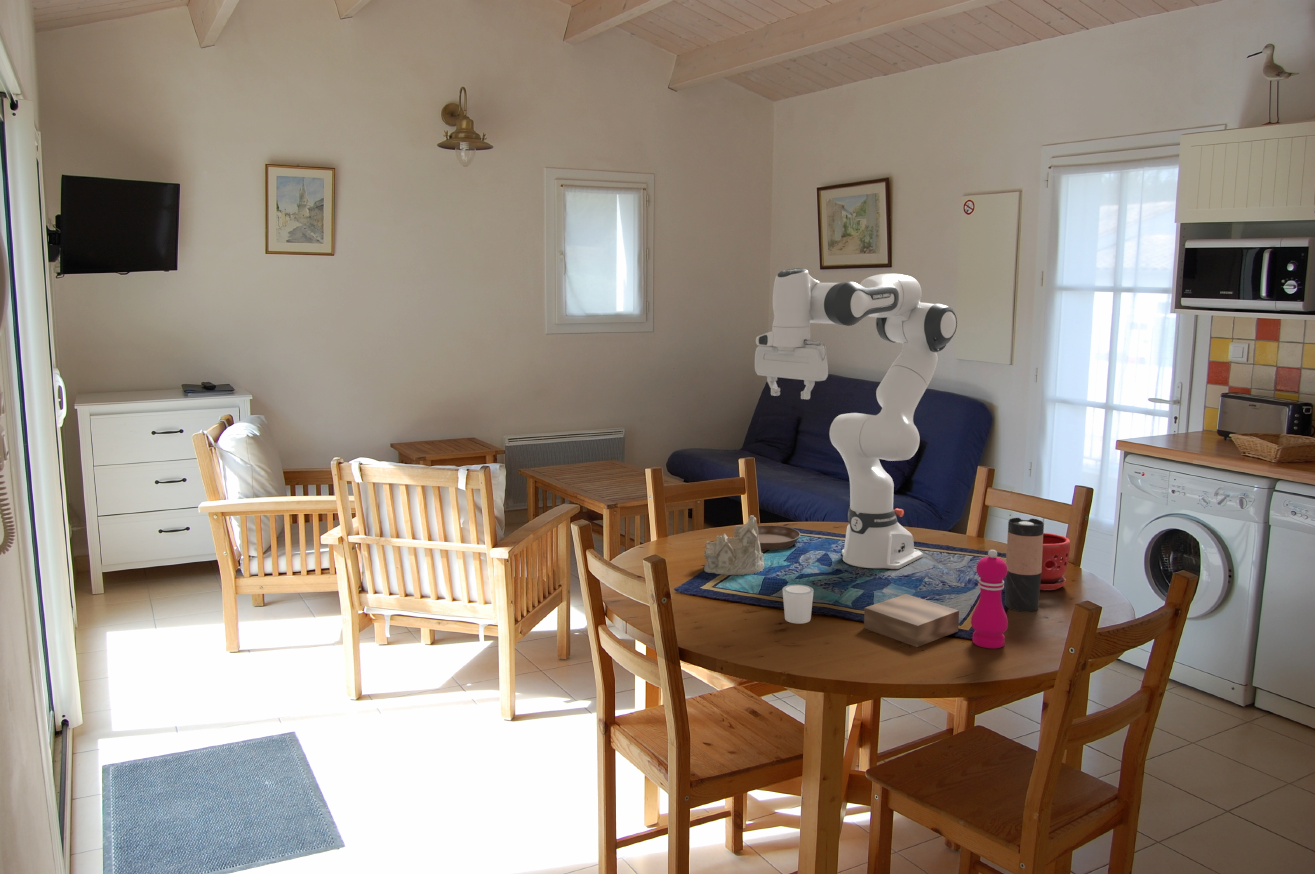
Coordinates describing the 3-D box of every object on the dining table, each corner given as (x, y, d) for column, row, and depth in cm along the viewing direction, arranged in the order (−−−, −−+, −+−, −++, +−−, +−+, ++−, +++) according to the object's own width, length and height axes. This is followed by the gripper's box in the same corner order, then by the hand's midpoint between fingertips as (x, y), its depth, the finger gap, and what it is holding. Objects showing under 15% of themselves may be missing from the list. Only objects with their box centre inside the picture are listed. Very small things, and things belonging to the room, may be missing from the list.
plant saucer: (750, 554, 267) (750, 544, 266) (729, 538, 284) (729, 527, 283) (810, 549, 271) (810, 538, 271) (785, 532, 288) (785, 522, 288)
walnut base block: (905, 615, 220) (905, 593, 219) (958, 632, 209) (959, 610, 208) (863, 629, 211) (864, 607, 210) (917, 648, 200) (917, 625, 200)
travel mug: (1022, 614, 218) (1027, 527, 215) (996, 604, 225) (1000, 519, 221) (1046, 608, 222) (1051, 523, 218) (1020, 598, 228) (1024, 515, 225)
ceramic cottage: (768, 557, 263) (764, 503, 260) (761, 578, 247) (757, 521, 244) (711, 558, 266) (707, 505, 263) (700, 579, 251) (696, 522, 248)
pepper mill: (964, 637, 205) (968, 545, 202) (997, 635, 206) (1002, 544, 202) (978, 650, 198) (982, 555, 195) (1013, 648, 199) (1018, 554, 195)
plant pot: (1075, 583, 238) (1078, 536, 236) (1054, 597, 229) (1057, 548, 227) (1023, 573, 247) (1025, 527, 245) (1001, 585, 238) (1003, 538, 236)
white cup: (812, 625, 213) (813, 594, 212) (780, 623, 214) (781, 593, 213) (813, 614, 220) (814, 584, 219) (783, 612, 221) (783, 583, 220)
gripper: (834, 340, 223) (833, 400, 226) (768, 336, 239) (768, 392, 241) (816, 341, 219) (815, 402, 222) (750, 337, 235) (750, 394, 237)
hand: (790, 397), depth 231 cm, fingers open, 8 cm apart
